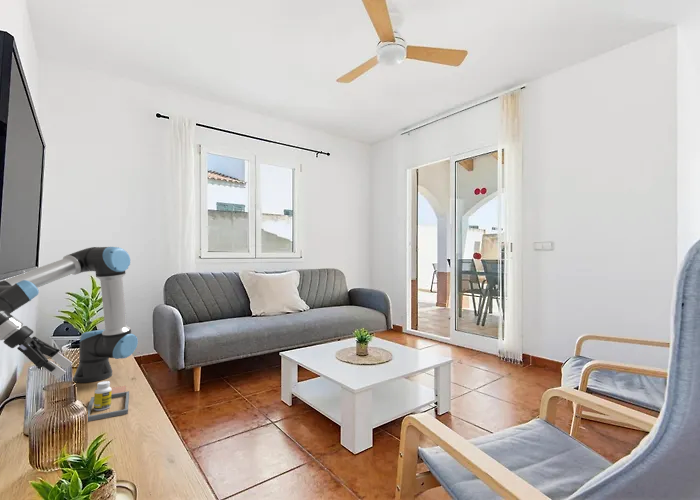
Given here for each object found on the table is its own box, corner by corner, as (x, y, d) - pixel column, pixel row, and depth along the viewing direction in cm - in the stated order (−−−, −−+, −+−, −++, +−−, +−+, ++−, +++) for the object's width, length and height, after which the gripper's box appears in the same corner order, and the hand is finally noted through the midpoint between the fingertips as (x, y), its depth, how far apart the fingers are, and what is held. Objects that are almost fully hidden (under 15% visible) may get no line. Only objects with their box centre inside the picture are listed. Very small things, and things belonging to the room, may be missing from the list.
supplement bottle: (101, 411, 128) (102, 385, 129) (90, 410, 129) (91, 384, 130) (114, 406, 134) (115, 380, 134) (103, 404, 135) (104, 379, 135)
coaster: (98, 391, 149) (98, 389, 149) (125, 386, 155) (126, 385, 155) (96, 398, 141) (96, 397, 141) (125, 393, 146) (125, 392, 146)
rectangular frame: (91, 400, 138) (91, 397, 138) (129, 394, 145) (129, 391, 145) (83, 422, 120) (84, 417, 120) (127, 413, 127) (127, 409, 127)
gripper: (13, 335, 128) (62, 370, 135) (-12, 348, 107) (48, 388, 114) (33, 320, 131) (80, 354, 138) (13, 330, 110) (69, 370, 117)
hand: (66, 370), depth 126 cm, fingers open, 13 cm apart
